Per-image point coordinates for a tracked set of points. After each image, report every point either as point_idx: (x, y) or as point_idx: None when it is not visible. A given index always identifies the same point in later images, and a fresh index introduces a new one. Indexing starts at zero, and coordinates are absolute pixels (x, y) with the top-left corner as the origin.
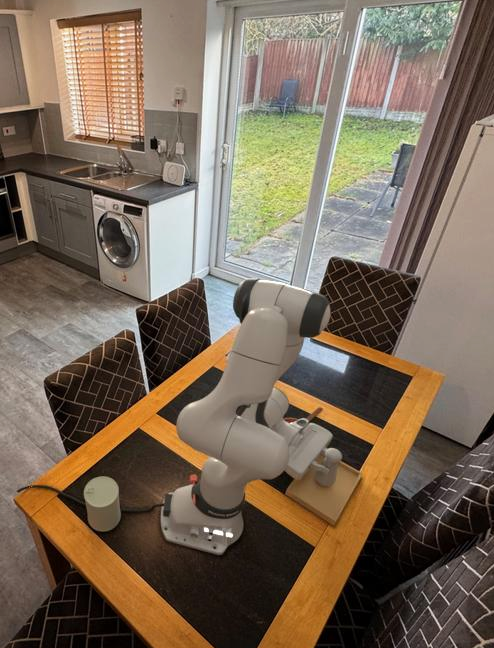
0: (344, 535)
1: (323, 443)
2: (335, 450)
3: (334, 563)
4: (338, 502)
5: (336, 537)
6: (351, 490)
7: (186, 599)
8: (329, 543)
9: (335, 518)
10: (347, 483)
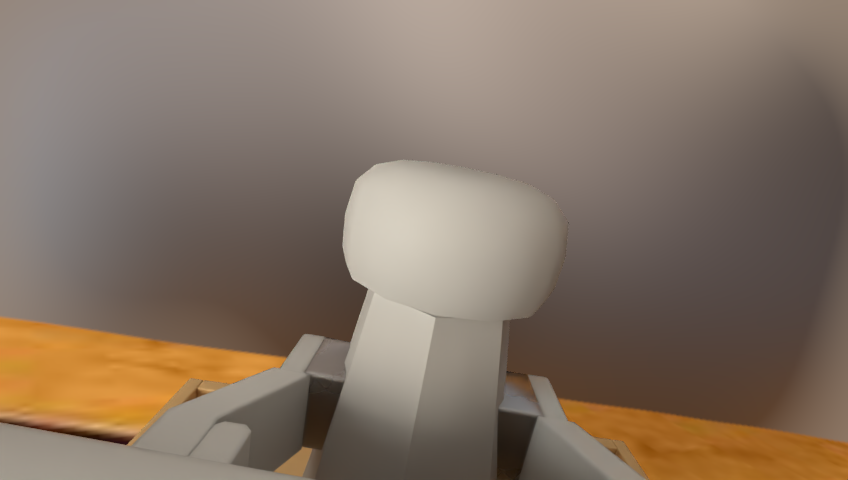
0: (593, 435)
1: (29, 456)
2: (421, 161)
3: (728, 445)
4: None
5: (639, 458)
6: None
7: None
8: (697, 477)
9: (613, 445)
10: (288, 459)
